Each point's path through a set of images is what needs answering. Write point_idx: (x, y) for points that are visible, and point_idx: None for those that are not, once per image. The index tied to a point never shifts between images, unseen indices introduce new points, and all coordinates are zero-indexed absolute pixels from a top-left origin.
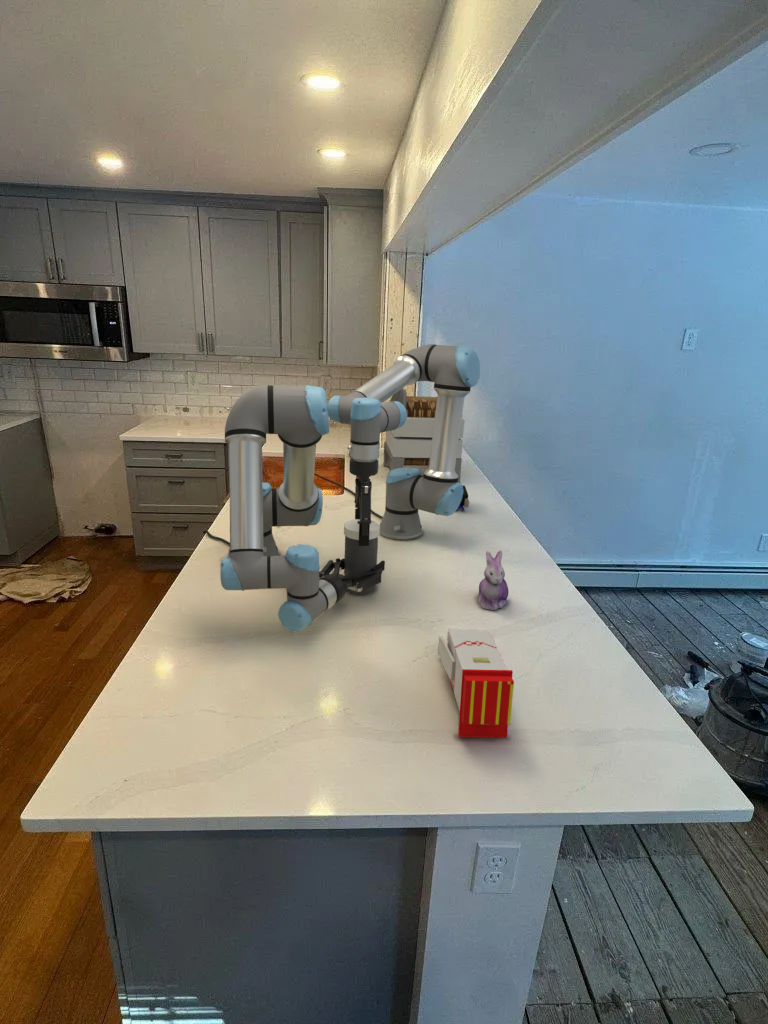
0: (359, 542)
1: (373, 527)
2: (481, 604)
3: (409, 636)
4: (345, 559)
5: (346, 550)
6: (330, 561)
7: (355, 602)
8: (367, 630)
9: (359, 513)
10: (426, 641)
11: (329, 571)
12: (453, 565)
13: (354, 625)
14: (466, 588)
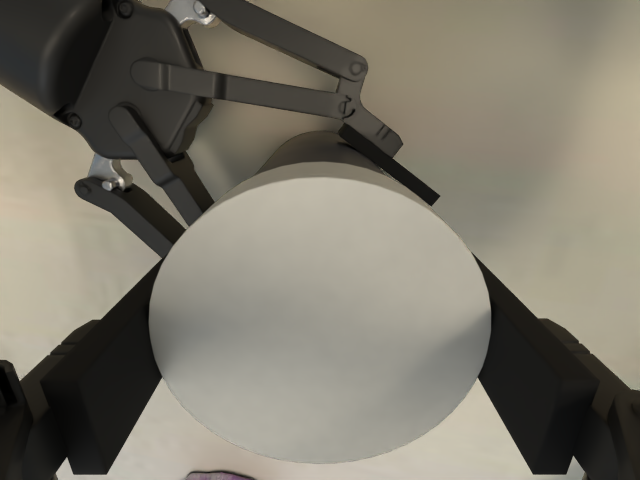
0: (156, 267)
1: (266, 422)
2: (199, 476)
3: (24, 294)
4: (298, 148)
5: (282, 161)
6: (349, 62)
7: (211, 163)
8: (31, 183)
9: (519, 383)
10: (9, 329)
11: (294, 57)
12: (437, 465)
13: (54, 144)
14: (297, 463)
